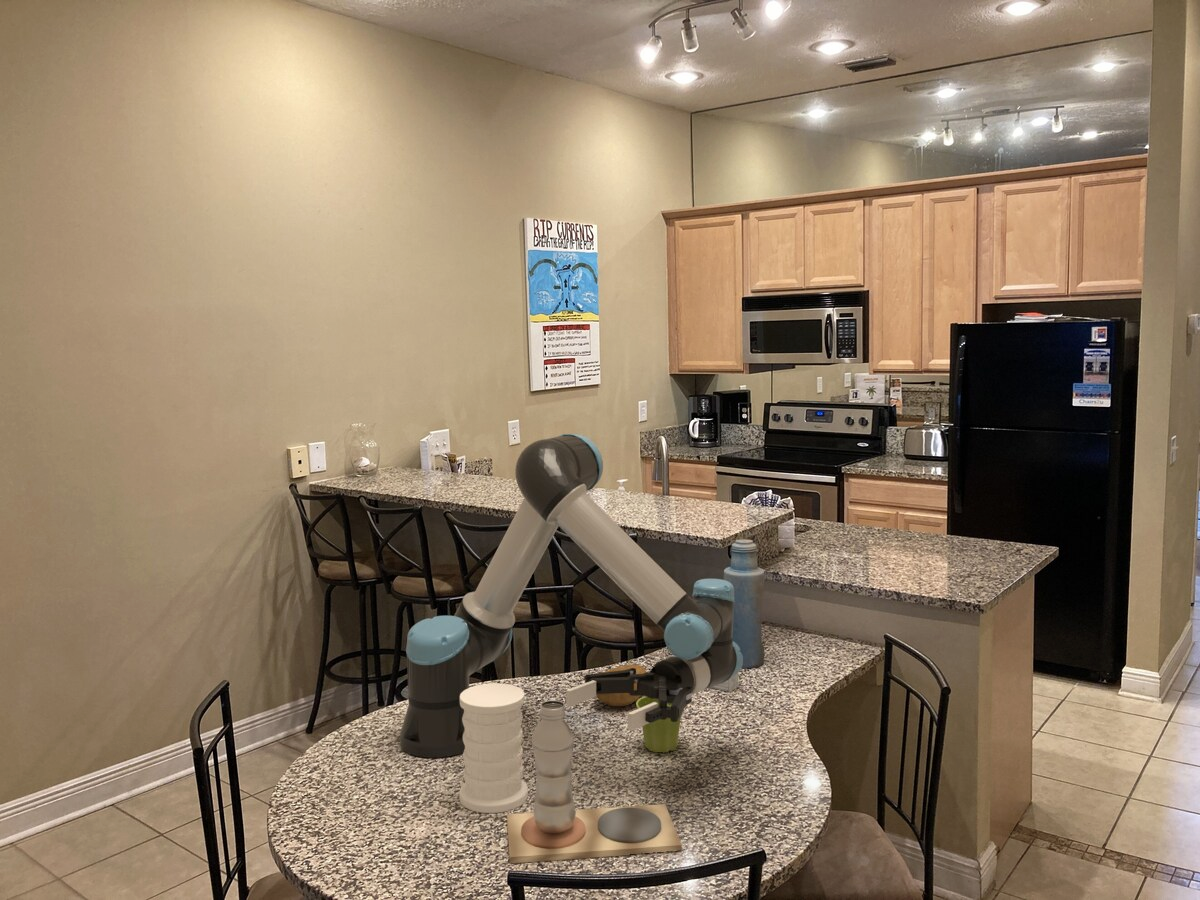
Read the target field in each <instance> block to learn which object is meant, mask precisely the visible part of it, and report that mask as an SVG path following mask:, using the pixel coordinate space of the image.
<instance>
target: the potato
mask: <svg viewBox="0 0 1200 900" xmlns="http://www.w3.org/2000/svg"><path fill="white" fill-rule="evenodd" d="M630 668H635V669H636V673H637V674H644V673H646V672H647V669H646V668H645V667H644V666H643V665H638V664H634V663H632V664H626V665H625V664H624V665H621V666H616V667H613V668H610V669H608V670H605V671H602V672H601V673H604V672H613V671H621V670H626V669H630ZM634 690H637V682H636V683H634ZM641 696H642V695H639V696H631V695H630V694H629V693H610V694H596V698H597V699H598V700H599V701H600V702H602V703H604V704H606V705H610V706H613V707H626V706H628V705H631V704H633V703H634V702H636V701H637V700H638V699H640V698H641Z"/></svg>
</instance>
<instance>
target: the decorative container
mask: <svg viewBox="0 0 1200 900" xmlns="http://www.w3.org/2000/svg"><path fill="white" fill-rule="evenodd" d="M525 697H526V696H525V691H524V690H523V689H522V688H520V687H518V686H516V685H512V684H507V683H501V682H500V683H499V682H498V683H496V682H495V683H483V684H478V685H474V686H469V688H468V689H466V690H464V691H463V692H462V693H461V694H460V706H461V707H462V708H463V709H464V714H463V717H462V722H463V725H464V729H465V731H464V733H463V742H464V745H465V749H464V752H463V753H462V759H463V761H464V762H463V763H464V768H463V773H462V774H463V775H462V776H463V780H464V782H465V783H463V785H461V787H460V789H459V802H460V804H461V805H462V806H463V807H464V808H466V809H468V810H469V811H472V812H476V813H481V814H482V813H483V814H499V813H505V812H508V811H512V810H514V809H517V808H519V807H520V806H521V805H523V804H525V802H526V801H527V799H528V795H529V791H528V790H529V787H528V784H527V783H526V782H525V780H523V774H524V768H523V764H522V760H523V756H524V750H523V747H522V742H523V737H524V734H523V729H522V722H523V717H524V715H523V711H522V710H521V707H523V705H524V704H525Z"/></svg>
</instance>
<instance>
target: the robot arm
mask: <svg viewBox="0 0 1200 900" xmlns="http://www.w3.org/2000/svg"><path fill="white" fill-rule="evenodd" d="M602 457H603V456H602V455H601V451H600V449H599V448H598V447H597V445H596V444H595V443H594V442H593V441H592V440H591V439H589V438H588V437H586V436H584V435H580V434H577V433H574V434H572V433H563V434H560V435H558V436H553V437H550V438H545V439H544V438H543V439H540V440H536V441H534V442H532V443H530V444H528V445H527V447H525V448H524V449H523V450H522V451H521V453H520V454H519V456H518V457H517V460H516V464H515V472H514V473H515V480H516V481H515V482H516V485H517V486H518V489H519V491H520V493H521V494H522V496H523V497H524V498H523V499H522V501H521V503H520V505H519V508H518V509H517V511H516V512H515V515H514V517H513V519H512V520H511V523H510V524H509V526H508V528H507V530H506V532H505V534H504V536H503V537H502V539H501V542H500V543H499V545H498V547H497V549H496V551H495V553H494V555H493V557H492V559H491V560H490V562H489V565H488V566H487V568H486V570H485V572H484V574H483V576H482V577H481V580H480V582H479V583H478V585H477V587H476V589H475V590H474V591H471V592H467V593H466V594H465V595H464V596H463V597H462V600H461V601H460V604H459V606H458V607H457V610H456V611H455V613H454V615H437V616H433V617H432V618H429V617H428V618H424V619H422V620H420V621H418V622H417V623H415V624H414V625H413V626H411V628H410V629H409V630H408V633H407V640H406V641H407V642H406V648H405V652H406V659H407V660H406V663H407V665H406V666H407V668H406V669H407V693H408V697H407V699H408V705H407V709H406V712H405V715H404V719H403V722H402V726H401V729H400V733H399V742H400V743H399V744H400V748H401V749H402V750H403V751H404V752H405V753H407V754H409V755H412V756H415V757H421V758H431V759H432V758H433V759H435V758H447V757H451V756H456V755H460V754H463V753H464V749H465V745H464V742H463V733H464V731H465V729H464V725H463V722H462V717H463V714H464V709H463V708H462V707H461V706H460V694H461V693H462V692H463V691H464V690H466V689H468V688H470V676H471V675H473V674H474V673H475V672H478V671H479V670H480V669H482V668H483V667H485V666H486V665H487V666H488V665H489V664H491V663H493V662H495V661H496V660H498V659H499V658H500V657H501V656H503V654H504V653H505V652H506V650H507V649H508V648H509V646H510V644H511V641H512V639H513V631H514V629H513V626H514V624H515V623H516V617H515V614H514V609H515V607H516V606H517V604H518V602H519V600H520V598H521V597H522V595H523V592H524V591H525V589H526V587H527V585H528V584H529V581H530V580H531V578H532V575H533V574H534V573H535V571H536V569H537V567H538V565H539V563H540V562H541V559H542V558H543V555H544V554H545V552H546V550H547V549H548V546H549V545H550V542H551V541H552V539H553V537H554V535H555V533H556V532H557V529H559V528H560V529H561V530H562V531H563V532H564V533H565V534H566V535H567V536H568V537H569V538H570V539H571V540H572V541H573V542H574V543H575V544H576V545H577V546H578V547H579V548H580V549H581V550H582V551H583V552H584V553H585V554H586V555H587V556H588V557H589V558H590V559H591V560H592V561H593V562H594V563H595V565H597V566H598V568H600V569H601V570H602V571H603V572H604V573H605V574H606V575H607V576H608V577H609V578H610V579H611V581H613V582H614V583H615V584H616V585H617V586H618V587H619V588H620V589H621V590H622V591H623V593H625V594H626V595H627V596H628V597H629V599H631V600H632V601H633V602H634V603H635V605H637V606H638V608H640V609H641V610H642V611H643V612H644V613H645V615H647V616H648V618H650V619H651V620H652V621H653V622H654V624H656V625H657V626H658V628H659V629H661V630H662V632H663V640H664V643H665V645H666V648H667V650H668V651H669V652H670V653H671V654H672V656H670V657H668V658H665V659H662V660H659V661H657V662H656V663H655V664H654V665H653V666H652V668H651V669H650V671H649V672H648V671H646V673H644V674H637V673H636V669H635V668H630V669H626V670H621V671H613V672H604V671H603V672H604V673H602V672H598V673H596V672H595V673H588V674H585V675H584V683H581V684H579V685H577V686H574V687H572V688H569V689H566V690H565V691H566V693H565V707H569V708H570V707H573V706H575V705H578V704H581V703H583V702H585V701H588V700H591V699H594V698H595V697H596V698H597V696H596V694H610V693H629V694H630V695H631V696H639V695H641V696H643V697H645V696H646V697H649V698H651V699H653V698H655V699H658V703H656V702H653V703H651V704H648V705H646V706H644V707H641V708H639V709H638V708H637V709H635V710H632V711H630V712H627V731H630V732H632V731H634V730H636V729H639V728H642V726H644V725H646V724H648V723H652V722H655V721H657V720H659V719H661V720H665V719H667V718H671V721H672V722H677V721H678V720H679V718H680V716H681V714H682V712H683V713H684V710H685V709H686V707H687V706H688V705H689V704H691V703H692V702H693V700H692V699H693V695H695V694H698V693H699V692H702V691H705V690H708V689H711V688H710V687H712V686H715V685H717V684H720V683H723V682H726V681H727V680H729V679H730V678H732V677H734V676H735V675H737V674H738V675H739V672H740V671H741V670H742V669H743V668H742V665H743V656H742V654H741V651H740V648H739V646H738V645H737V644H736V643H735V642H734V641H733V616H734V603H735V600H734V587H733V585H732V584H731V583H730V582H728V581H725V580H724V579H721V578H702V579H699V580H696V582H694V584H693V590H692V594H691V596H692V597H691V596H690V595H689V594H688V593H687V592H686V591H685V590H684V589H683V588H682V587H681V586H680V585H679V584H678V583H677V582H676V581H675V580H674V579H673V578H672V577H671V576H670V575H669V574H668V573H667V572H666V570H663V568H662V566H661V567H660V565H659V564H658V563H657V562H655V561H654V559H653V558H652V557H650V555H649V554H647V552H646V551H644V550H643V549H642V548H641V547H640V545H638V543H637V542H635V541H634V540H633V539H632V538H631V537H630V535H628V533H626V532H625V531H624V530H623V529H622V528H621V527H620V526H619V524H618V523H616V521H614V520H613V519H612V518H611V517H610V516H609V515H608V514H607V513H606V512H605V511H604V509H602V508H601V507H600V506H599V505H598V504H597V503H596V502H595V501H594V499H592V498H591V497H590V496H589V495H588V493H587V492H589V491H590V490H592V489H593V488H595V486H596V485H597V484H598V483H599V481H600V480H601V478H602V476H603V472H604V461H603V458H602ZM636 682H637V690H634V683H636ZM667 703H672V705H671V707H669V706H667ZM658 705H659V707H658ZM685 706H686V707H685ZM684 708H685V709H684ZM682 715H683V714H682ZM681 717H682V716H681Z"/></svg>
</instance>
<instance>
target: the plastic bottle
mask: <svg viewBox="0 0 1200 900" xmlns="http://www.w3.org/2000/svg"><path fill="white" fill-rule="evenodd" d="M565 707H566V704H565V703H564V702H563V701H561V700H552V699H551V700H545V701H542V702H541V703H540V712H539V717H540V721H539V722H538V724H537V725H536V726H535V728H534V729H533V732H532V736H531V744H532V750H533V754H534V763H535V772H536V773H535V774H536V775H535V778H536V782H535V783H536V785H535V798H534V804H533V810H532V813H533V815H534V820H535V824H536V825H537V826H538V828H539V829H540V830H542V831H543V832H546V833H554V834H555V833H562V832H565V831H568V830H569V829H570V828H571V827H572V825H573V824H574V821H575V815H576V810H577V809H576V803H575V800H574V797H573V796H574V795H573V787H572V785H573V784H572V760H573V759H572V758H573V750H574V742H575V737H574V733H573V729H571V727H570V725H569V724H568V723H567V721H566V720H565V717H566V708H565Z"/></svg>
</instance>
